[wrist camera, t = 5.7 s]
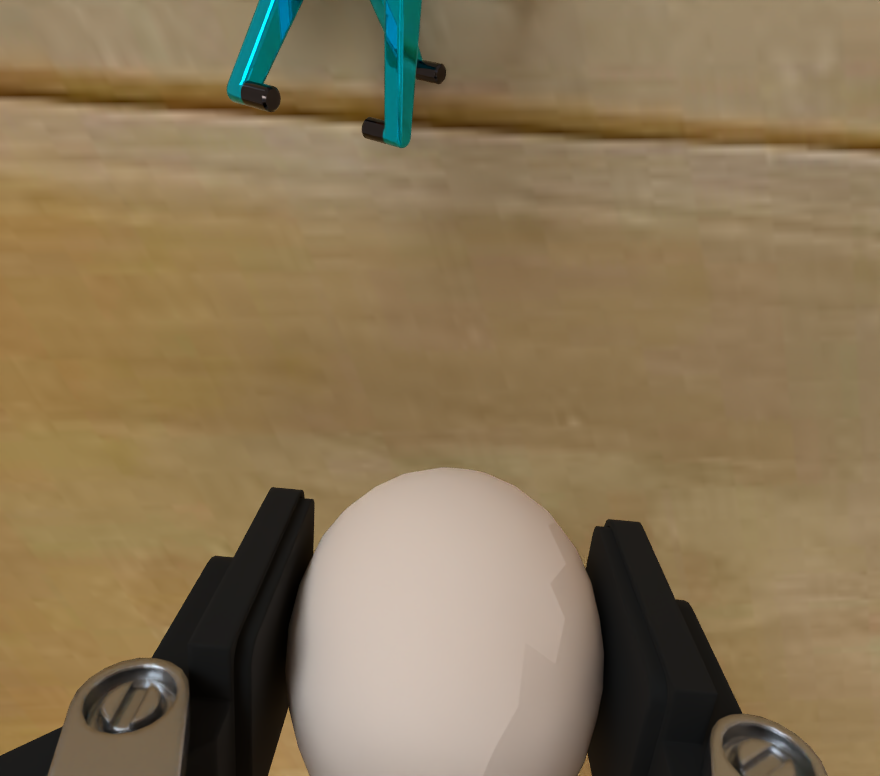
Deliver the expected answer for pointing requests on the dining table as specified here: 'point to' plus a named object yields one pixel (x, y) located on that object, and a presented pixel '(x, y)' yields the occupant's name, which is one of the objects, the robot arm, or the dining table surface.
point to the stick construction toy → (403, 63)
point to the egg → (444, 636)
